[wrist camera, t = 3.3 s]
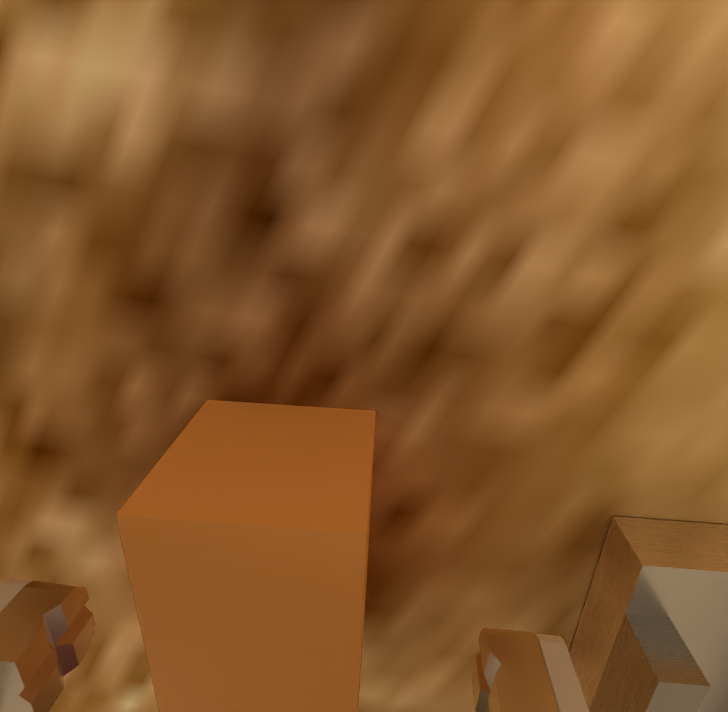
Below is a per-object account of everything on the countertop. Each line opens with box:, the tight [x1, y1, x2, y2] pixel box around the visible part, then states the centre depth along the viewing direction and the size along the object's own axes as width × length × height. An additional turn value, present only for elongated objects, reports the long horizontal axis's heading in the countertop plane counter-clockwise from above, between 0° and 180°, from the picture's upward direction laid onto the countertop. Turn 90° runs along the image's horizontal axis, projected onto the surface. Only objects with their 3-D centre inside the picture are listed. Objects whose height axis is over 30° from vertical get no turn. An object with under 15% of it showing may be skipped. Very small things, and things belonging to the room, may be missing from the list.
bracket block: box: [115, 400, 376, 712], centre depth 10 cm, size 4×6×4 cm, turn 178°
